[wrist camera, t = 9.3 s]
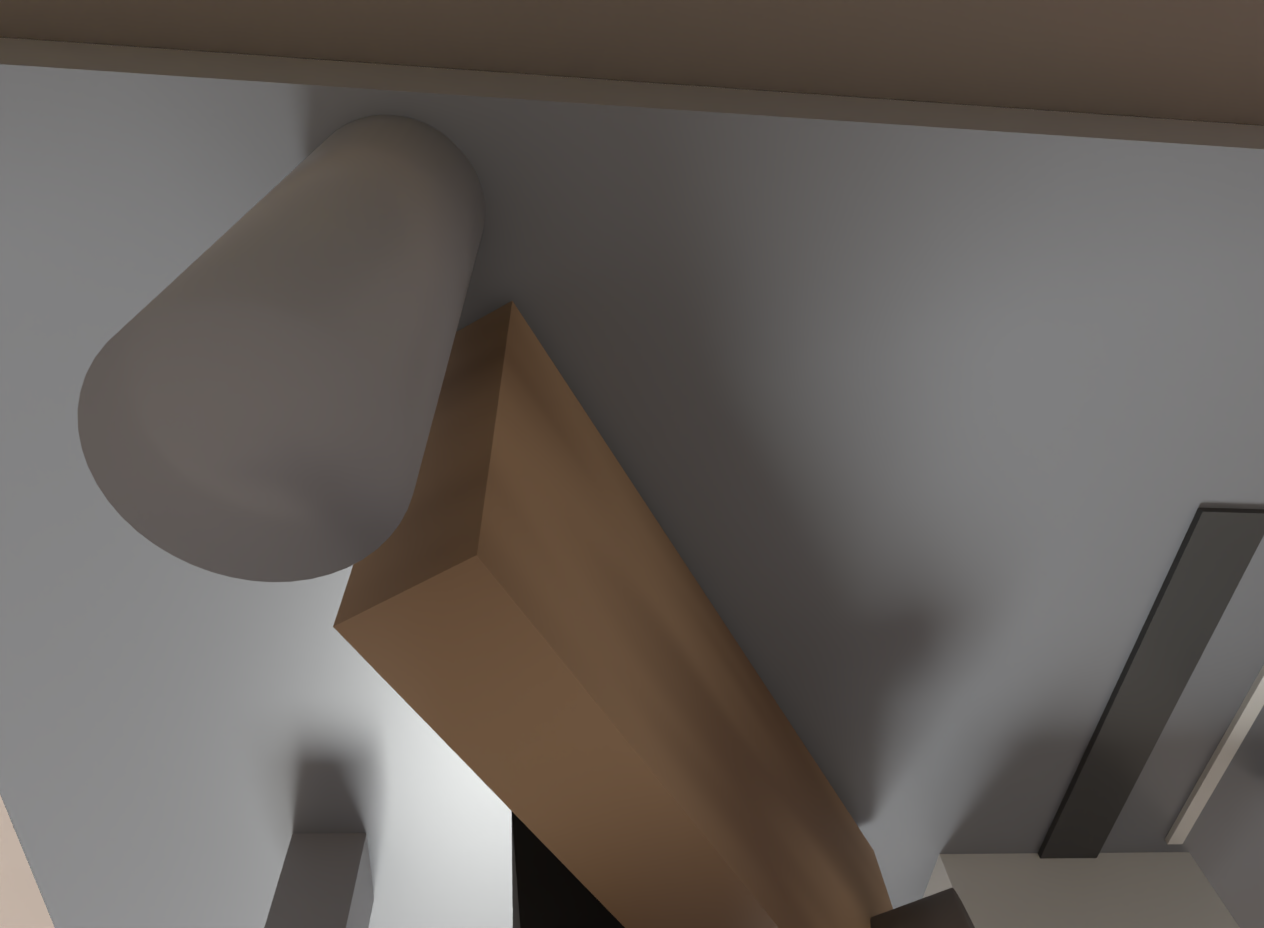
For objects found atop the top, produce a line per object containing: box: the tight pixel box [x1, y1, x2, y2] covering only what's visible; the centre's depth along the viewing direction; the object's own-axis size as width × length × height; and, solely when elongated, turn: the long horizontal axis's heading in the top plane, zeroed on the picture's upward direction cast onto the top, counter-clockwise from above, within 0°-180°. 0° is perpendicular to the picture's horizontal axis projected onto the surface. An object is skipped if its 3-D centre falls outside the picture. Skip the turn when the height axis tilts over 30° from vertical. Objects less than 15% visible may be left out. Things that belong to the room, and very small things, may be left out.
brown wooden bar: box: [333, 301, 975, 928], centre depth 9 cm, size 10×2×4 cm, turn 29°
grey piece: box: [0, 37, 1264, 928], centre depth 11 cm, size 15×22×6 cm
